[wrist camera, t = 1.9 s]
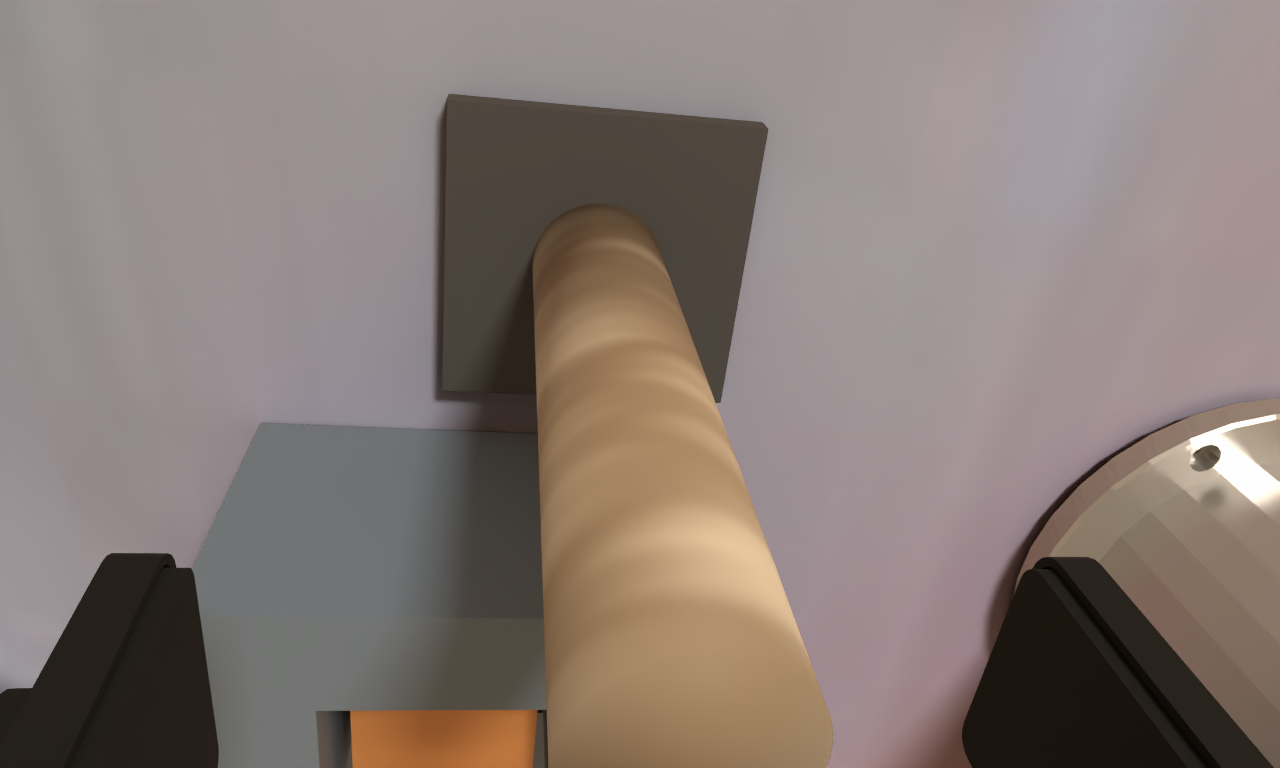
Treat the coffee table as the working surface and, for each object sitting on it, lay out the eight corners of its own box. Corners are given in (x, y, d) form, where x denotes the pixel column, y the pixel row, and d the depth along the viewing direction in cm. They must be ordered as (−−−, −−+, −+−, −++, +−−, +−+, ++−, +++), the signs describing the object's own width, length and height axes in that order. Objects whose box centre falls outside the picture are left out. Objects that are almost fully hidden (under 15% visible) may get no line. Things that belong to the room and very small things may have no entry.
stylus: (668, 209, 22) (860, 652, 9) (652, 327, 23) (802, 848, 11) (536, 198, 21) (559, 651, 9) (528, 320, 23) (539, 855, 10)
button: (538, 596, 24) (541, 671, 21) (529, 716, 25) (530, 796, 23) (364, 594, 23) (348, 670, 21) (368, 718, 25) (353, 799, 23)
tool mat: (762, 122, 22) (768, 128, 21) (716, 391, 25) (720, 402, 24) (449, 94, 20) (446, 99, 20) (443, 378, 24) (442, 390, 23)
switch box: (652, 438, 25) (695, 620, 19) (615, 707, 30) (640, 923, 24) (260, 423, 24) (170, 615, 18) (285, 709, 28) (220, 939, 22)
